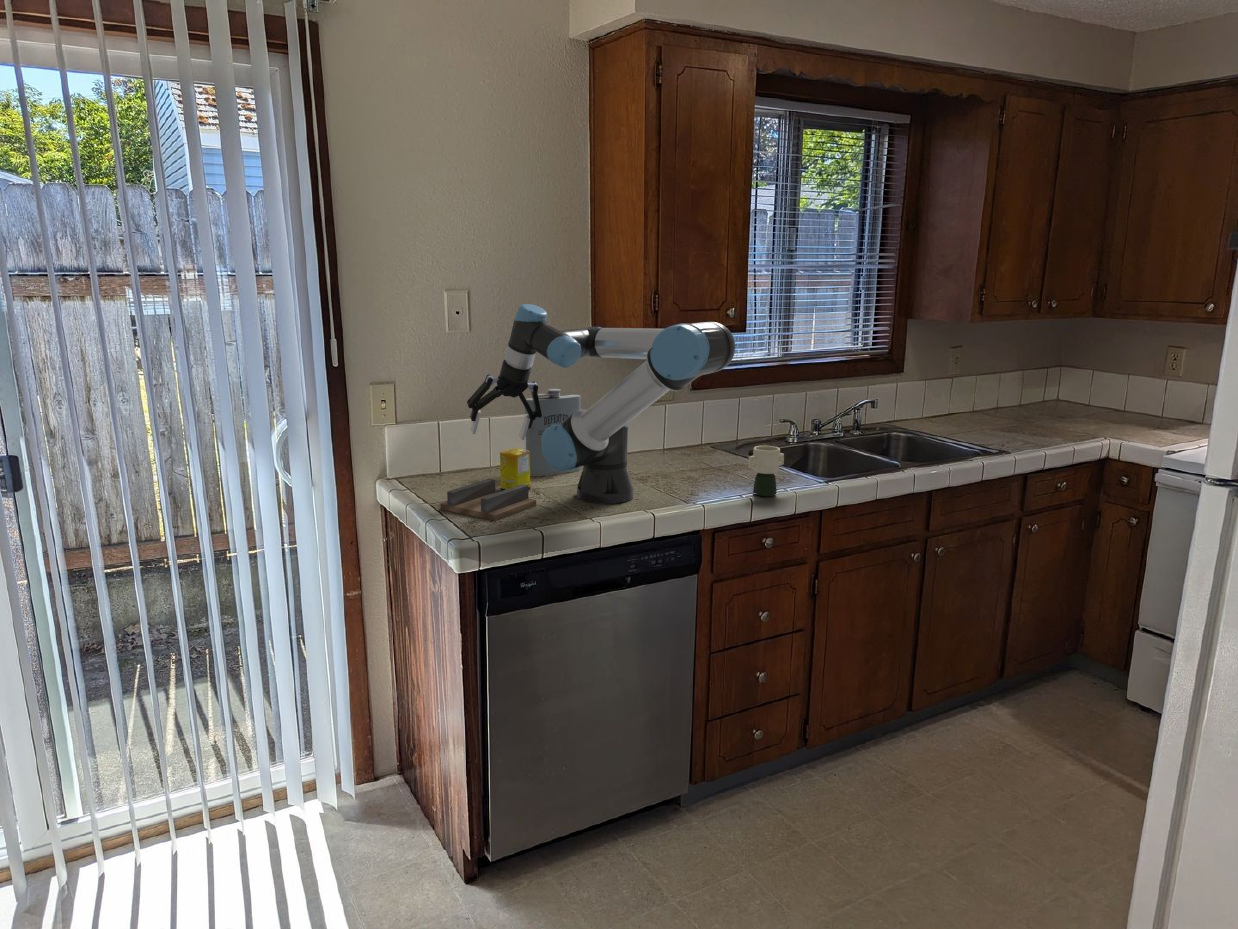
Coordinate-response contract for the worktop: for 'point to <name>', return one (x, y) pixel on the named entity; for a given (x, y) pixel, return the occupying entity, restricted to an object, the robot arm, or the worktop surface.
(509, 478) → the supplement box
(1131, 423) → the worktop surface
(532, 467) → the flask
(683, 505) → the worktop surface
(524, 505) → the slot rack
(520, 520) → the worktop surface
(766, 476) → the character mug
